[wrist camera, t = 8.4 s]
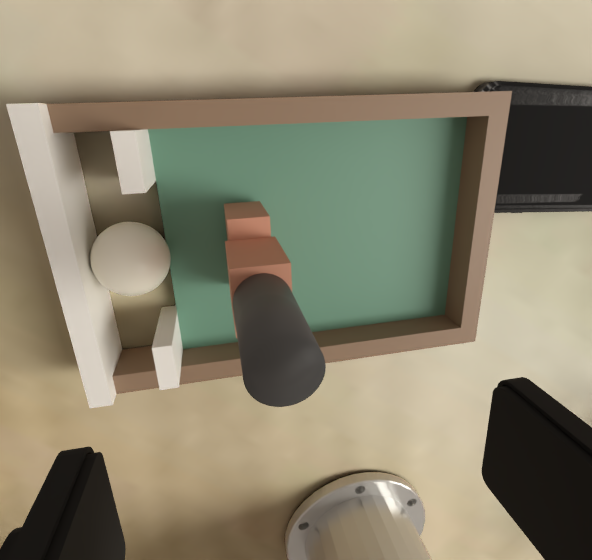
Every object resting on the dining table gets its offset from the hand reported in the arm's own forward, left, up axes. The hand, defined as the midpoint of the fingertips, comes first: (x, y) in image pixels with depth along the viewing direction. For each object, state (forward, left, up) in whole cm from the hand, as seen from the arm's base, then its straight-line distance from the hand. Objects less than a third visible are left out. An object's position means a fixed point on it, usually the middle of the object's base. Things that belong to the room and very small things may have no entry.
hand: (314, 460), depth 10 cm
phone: (+5, -21, -18) cm, 28 cm away
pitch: (+1, -3, -17) cm, 17 cm away
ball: (+1, +6, -15) cm, 16 cm away
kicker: (+1, 0, -16) cm, 16 cm away
